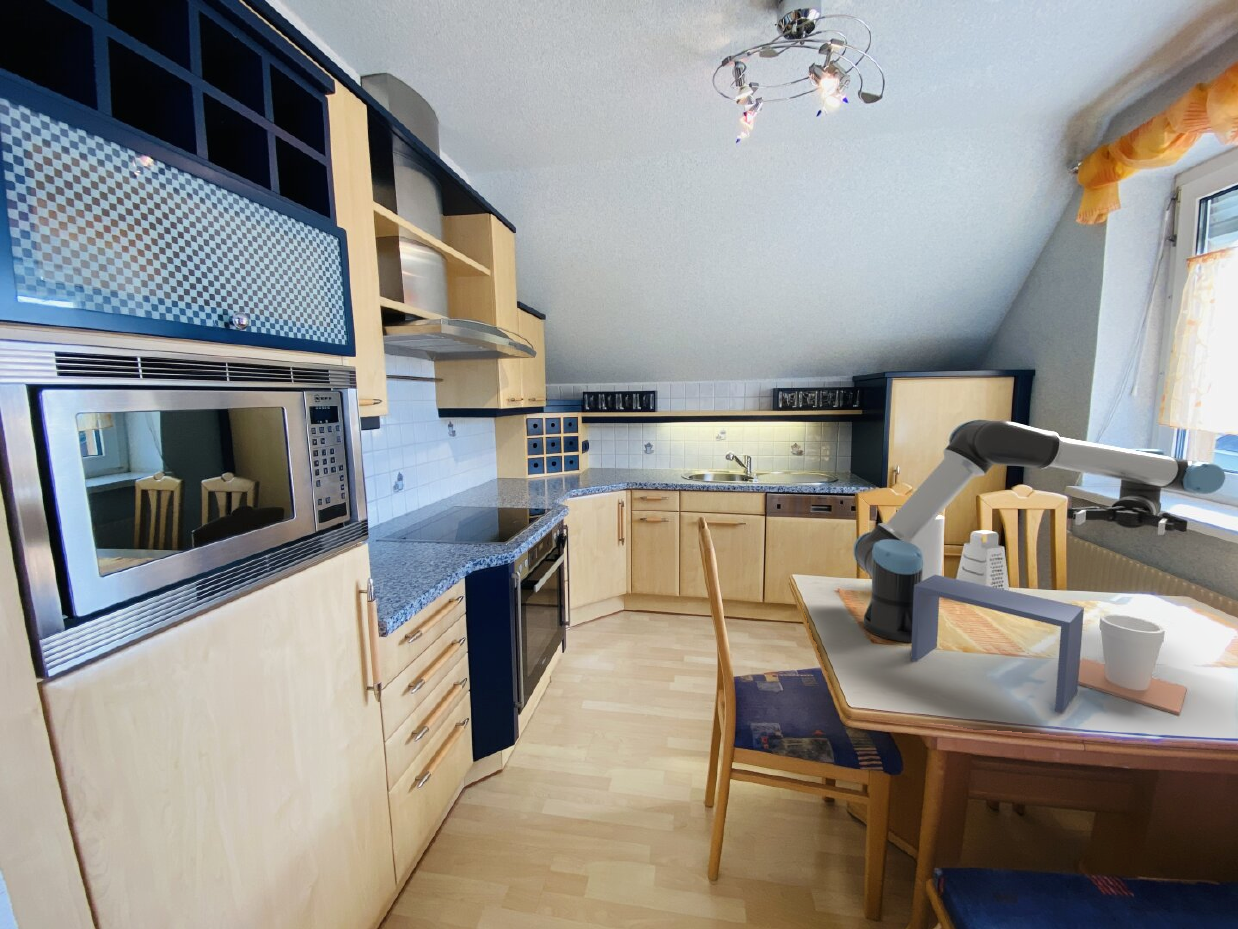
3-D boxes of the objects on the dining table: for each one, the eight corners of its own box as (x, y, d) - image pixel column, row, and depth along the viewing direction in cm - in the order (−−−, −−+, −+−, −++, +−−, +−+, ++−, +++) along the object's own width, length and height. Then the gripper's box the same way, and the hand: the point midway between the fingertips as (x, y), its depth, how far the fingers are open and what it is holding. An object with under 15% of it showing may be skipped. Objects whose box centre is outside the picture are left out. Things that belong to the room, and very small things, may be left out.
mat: (1068, 680, 107) (1068, 678, 107) (1082, 660, 116) (1083, 658, 116) (1179, 715, 94) (1179, 712, 94) (1186, 689, 103) (1186, 687, 103)
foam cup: (1144, 699, 99) (1150, 636, 98) (1086, 677, 107) (1091, 619, 106) (1167, 688, 103) (1173, 627, 101) (1109, 667, 111) (1114, 611, 110)
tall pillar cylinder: (901, 583, 170) (904, 511, 168) (938, 587, 165) (941, 513, 163) (904, 593, 160) (907, 517, 158) (943, 597, 156) (947, 519, 153)
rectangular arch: (910, 659, 117) (913, 585, 116) (931, 645, 125) (934, 574, 123) (1063, 713, 96) (1069, 622, 94) (1077, 691, 103) (1083, 607, 101)
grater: (1010, 596, 156) (1013, 534, 155) (985, 600, 153) (989, 537, 151) (977, 585, 166) (980, 527, 164) (953, 589, 163) (956, 529, 161)
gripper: (1206, 534, 117) (1198, 550, 105) (1067, 518, 137) (1046, 530, 124) (1209, 503, 117) (1202, 515, 104) (1068, 492, 136) (1048, 501, 124)
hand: (1117, 523), depth 114 cm, fingers open, 13 cm apart
